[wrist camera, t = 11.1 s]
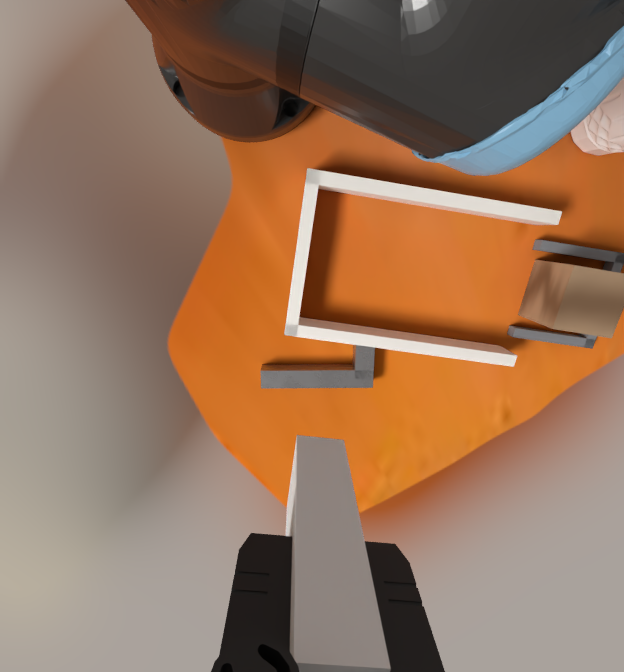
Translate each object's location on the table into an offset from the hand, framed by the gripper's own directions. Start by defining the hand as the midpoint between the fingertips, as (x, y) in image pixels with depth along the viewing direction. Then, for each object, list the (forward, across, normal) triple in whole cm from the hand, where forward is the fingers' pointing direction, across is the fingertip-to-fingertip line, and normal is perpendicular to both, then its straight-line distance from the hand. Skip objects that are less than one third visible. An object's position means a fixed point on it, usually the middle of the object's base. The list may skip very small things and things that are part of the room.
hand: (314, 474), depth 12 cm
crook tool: (+30, +2, -6) cm, 30 cm away
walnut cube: (+30, +26, +4) cm, 40 cm away
